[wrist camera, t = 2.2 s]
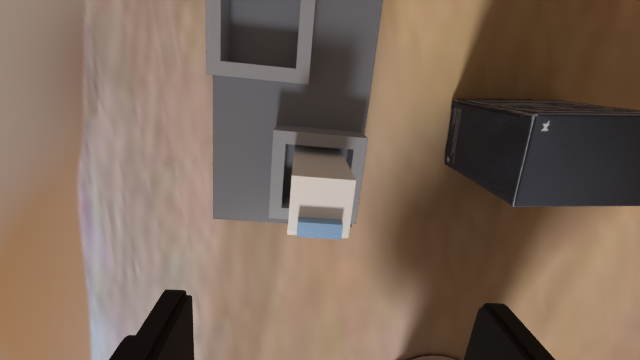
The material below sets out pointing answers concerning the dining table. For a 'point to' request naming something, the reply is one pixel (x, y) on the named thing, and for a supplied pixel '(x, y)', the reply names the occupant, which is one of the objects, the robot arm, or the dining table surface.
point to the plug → (320, 194)
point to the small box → (547, 151)
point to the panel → (285, 95)
